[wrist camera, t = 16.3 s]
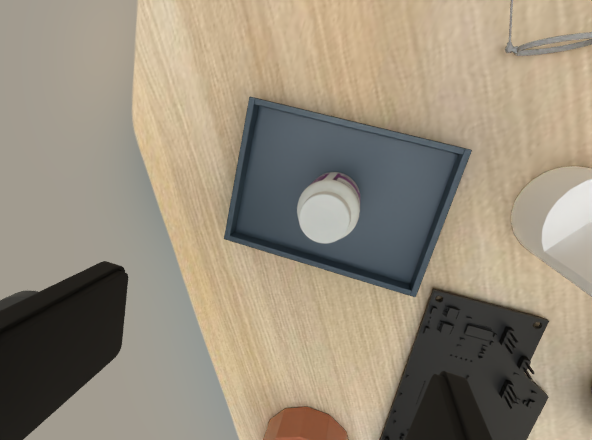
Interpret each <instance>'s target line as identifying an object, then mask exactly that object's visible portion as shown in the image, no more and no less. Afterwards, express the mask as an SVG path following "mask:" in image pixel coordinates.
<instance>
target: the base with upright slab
mask: <svg viewBox="0 0 592 440" xmlns="http://www.w3.org/2000/svg"><path fill="white" fill-rule="evenodd" d="M511 224H512V228H513V232H514V235H515V236H516V238H517V239H518V241H519V242H520V244H521V245H523V246H524V247H525V248H526V249H527V250H528V251H530V252H531V253H532V254H534V255H535V256H536V257H538V258H539V259H541V260H542V261H543V262H545V263H546V264H547V265H549V266H550V267H552V268H553V269H554V270H556V271H557V272H558V273H560V274H561V275H562V276H564V277H565V278H567V279H568V280H569V281H571V282H572V283H573V284H575V285H576V286H578V287H579V288H580V289H582V290H583V291H584V292H586V293H587V294H588V295H590V296H591V297H592V168H586V167H579V166H569V167H560V168H557V169H553V170H550V171H547V172H545V173H543V174H541V175H540V176H538V177H536V178H534V179H533V180H532V181H531V182H530V183H529V184H527V185H526V186H525V187H524V188H523V189H522V191H521V192H520V194H519V195H518V197H517V198H516V200H515V203H514V206H513V209H512V214H511Z"/></svg>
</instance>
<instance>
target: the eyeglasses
mask: <svg viewBox="0 0 592 440" xmlns="http://www.w3.org/2000/svg"><path fill="white" fill-rule="evenodd" d="M512 7H513V0H511V8H510V29H509V42H508V43H507V46H506V48H505V52H506V53H511V52H513V53H514V54H515V55H517V56H524V55H537V54H546V53H553V52H559V51H565V50H570V49H575V48H580V47H584V46H588V45H591V44H592V39H589V38H592V32H589V33H579V34H571V35H563V36H557V37H551V38H546V39H541V40H537V41H533V42H529V43H526V44H523V45H521V46H519V47H518V46H516V47H513V45H512V43H511V27H512ZM579 39H589V40H586V41H582V42H578V43H574V44H569V45H564V46H558V47H551V48H544V49H535V50H525V49H528V48H532V47H536V46H541V45H545V44H550V43H556V42H563V41H571V40H579Z"/></svg>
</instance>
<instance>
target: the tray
mask: <svg viewBox="0 0 592 440" xmlns="http://www.w3.org/2000/svg"><path fill="white" fill-rule="evenodd" d="M471 151H472V150H470V149H466V148H462V147H457V146H453V145H449V144H445V143H441V142H437V141H432V140H428V139H424V138H420V137H416V136H412V135H407V134H403V133H399V132H395V131H391V130H387V129H382V128H378V127H374V126H370V125H366V124H362V123H357V122H353V121H349V120H345V119H341V118H337V117H332V116H328V115H324V114H320V113H316V112H312V111H307V110H303V109H299V108H295V107H291V106H287V105H283V104H278V103H274V102H270V101H266V100H262V99H258V98H253V97H249V103H248V108H247V114H246V119H245V125H244V130H243V136H242V141H241V147H240V153H239V158H238V164H237V169H236V175H235V180H234V186H233V192H232V197H231V203H230V208H229V214H228V219H227V225H226V231H225V236H224V239H226V240H229V241H232V242H236V243H239V244H242V245H246V246H249V247H252V248H255V249H259V250H262V251H265V252H269V253H272V254H275V255H278V256H282V257H285V258H288V259H291V260H295V261H298V262H301V263H305V264H308V265H311V266H314V267H318V268H321V269H324V270H327V271H331V272H334V273H337V274H341V275H344V276H347V277H350V278H354V279H357V280H360V281H364V282H367V283H370V284H373V285H377V286H380V287H383V288H386V289H390V290H393V291H396V292H400V293H403V294H406V295H410V296H413V297H416V295H417V292H418V289H419V287H420V284H421V282H422V279H423V276H424V274H425V271H426V269H427V266H428V263H429V261H430V258H431V256H432V253H433V250H434V248H435V245H436V243H437V240H438V237H439V235H440V232H441V229H442V227H443V224H444V222H445V219H446V216H447V214H448V211H449V209H450V206H451V203H452V201H453V198H454V196H455V193H456V190H457V188H458V185H459V183H460V180H461V177H462V175H463V172H464V169H465V167H466V164H467V162H468V159H469V156H470V154H471ZM329 172H339V173H342V174H345V175H347V176H348V177H350V178H351V179H352V180H353V181H354V182H355V183H356V185H357V186H358V189H359V192H360V213H359V219H358V221H357V224H356V226H355V227H354V229H353V230H352V231H351V232H350V233H349V234H348V235H347V236H345V237H343V238H341V239H339V240H337V241H335V242H332V243H325V244H324V243H318V242H315V241H313V240H311V239H310V238H308V237H307V236H306V235H305V234H304V232H303V231H302V229H301V227H300V224H299V219H298V215H297V205H298V201H299V198H300V196H301V194H302V193H303V191H304V190H305V189H306V188H307V187H308V186H309V185H310V184H311V183H312V182H313V181H314V180H316V179H317V178H318V177H319V176H321V175H323V174H325V173H329Z"/></svg>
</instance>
